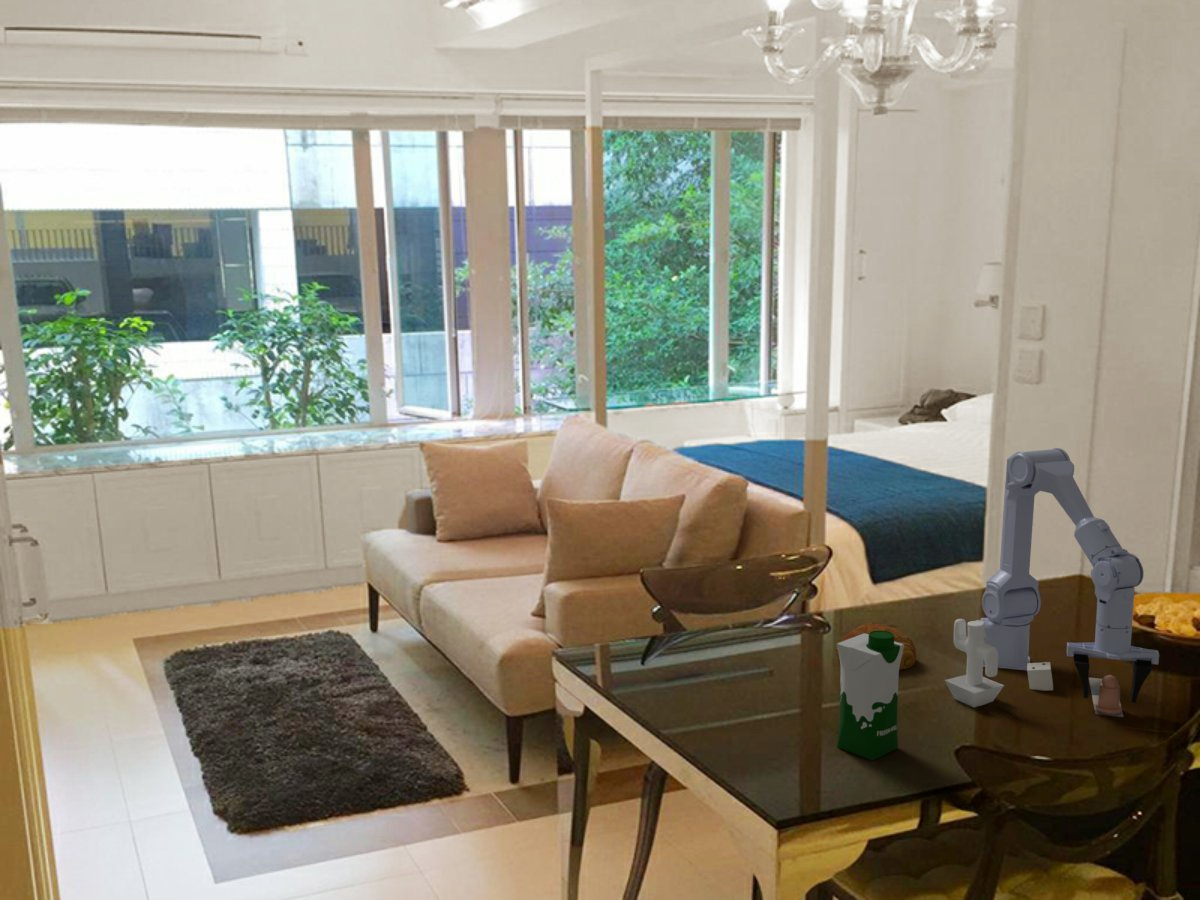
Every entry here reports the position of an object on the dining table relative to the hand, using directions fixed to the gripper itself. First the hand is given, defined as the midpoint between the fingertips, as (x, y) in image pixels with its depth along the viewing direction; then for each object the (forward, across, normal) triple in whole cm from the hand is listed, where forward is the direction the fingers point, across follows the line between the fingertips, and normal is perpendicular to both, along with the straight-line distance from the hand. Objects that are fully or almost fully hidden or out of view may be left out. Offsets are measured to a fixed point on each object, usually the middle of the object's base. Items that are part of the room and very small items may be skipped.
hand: (1109, 698), depth 205 cm
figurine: (+3, -22, -2) cm, 23 cm away
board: (+3, -4, +7) cm, 8 cm away
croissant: (+3, -42, +15) cm, 45 cm away
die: (0, -9, +9) cm, 13 cm away
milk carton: (+3, -38, -26) cm, 47 cm away
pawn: (+2, 0, 0) cm, 2 cm away
